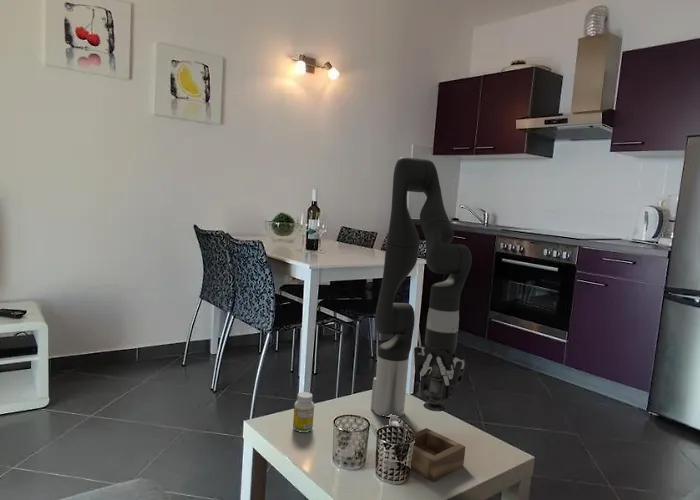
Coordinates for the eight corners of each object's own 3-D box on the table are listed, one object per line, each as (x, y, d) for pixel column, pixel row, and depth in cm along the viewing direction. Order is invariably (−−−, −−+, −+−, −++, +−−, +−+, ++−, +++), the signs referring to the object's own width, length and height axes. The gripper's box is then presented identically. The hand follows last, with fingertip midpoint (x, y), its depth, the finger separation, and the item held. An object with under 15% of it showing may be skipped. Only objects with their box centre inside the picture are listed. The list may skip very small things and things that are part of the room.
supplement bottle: (310, 434, 137) (312, 399, 136) (290, 431, 138) (292, 397, 137) (314, 425, 142) (316, 392, 141) (295, 423, 143) (297, 389, 142)
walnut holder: (394, 460, 127) (396, 440, 126) (424, 446, 135) (426, 427, 135) (433, 482, 118) (435, 461, 118) (463, 465, 127) (465, 446, 126)
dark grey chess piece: (446, 413, 122) (451, 364, 121) (421, 409, 123) (426, 360, 122) (446, 404, 128) (451, 357, 126) (422, 400, 129) (427, 353, 128)
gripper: (408, 321, 126) (402, 388, 128) (458, 336, 116) (451, 408, 117) (427, 318, 131) (421, 382, 133) (476, 332, 121) (469, 401, 123)
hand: (435, 394), depth 125 cm, fingers closed on dark grey chess piece, 6 cm apart
